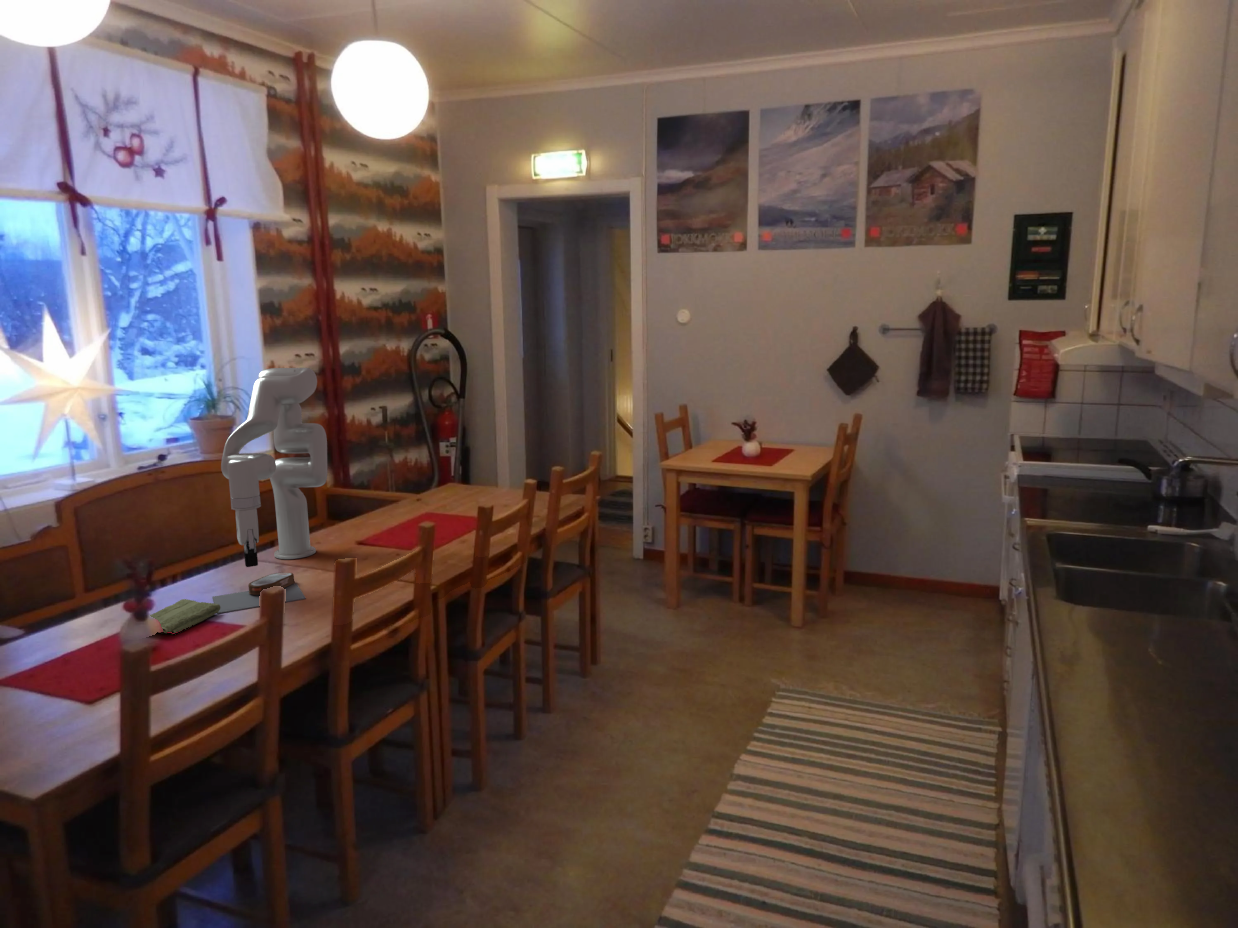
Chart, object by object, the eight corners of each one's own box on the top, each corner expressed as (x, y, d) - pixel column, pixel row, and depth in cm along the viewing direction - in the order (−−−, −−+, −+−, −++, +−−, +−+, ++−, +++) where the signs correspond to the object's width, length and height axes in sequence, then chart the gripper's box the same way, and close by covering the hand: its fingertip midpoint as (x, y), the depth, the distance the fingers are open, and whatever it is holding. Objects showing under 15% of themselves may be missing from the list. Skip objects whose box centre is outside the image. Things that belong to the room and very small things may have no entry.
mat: (212, 597, 233) (212, 596, 233) (296, 584, 244) (296, 583, 244) (217, 613, 220) (217, 612, 220) (305, 598, 231) (305, 597, 231)
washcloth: (129, 632, 208) (127, 620, 207) (185, 607, 224) (184, 596, 224) (170, 638, 204) (169, 625, 203) (225, 612, 220) (224, 600, 220)
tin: (242, 594, 233) (269, 596, 232) (241, 583, 233) (269, 585, 231) (274, 580, 248) (300, 582, 246) (274, 569, 247) (300, 571, 246)
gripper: (228, 499, 241) (234, 561, 244) (233, 509, 228) (240, 574, 231) (256, 496, 244) (262, 557, 247) (263, 505, 231) (269, 570, 234)
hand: (251, 565), depth 239 cm, fingers closed
